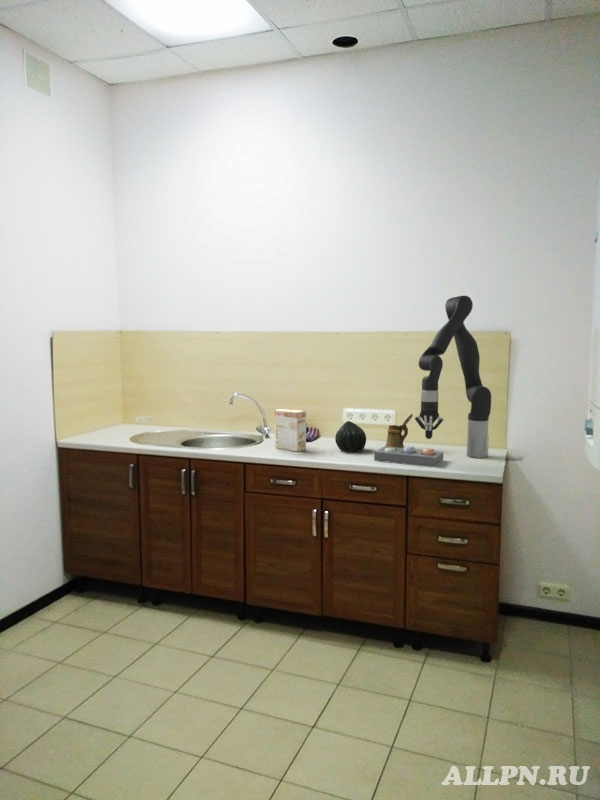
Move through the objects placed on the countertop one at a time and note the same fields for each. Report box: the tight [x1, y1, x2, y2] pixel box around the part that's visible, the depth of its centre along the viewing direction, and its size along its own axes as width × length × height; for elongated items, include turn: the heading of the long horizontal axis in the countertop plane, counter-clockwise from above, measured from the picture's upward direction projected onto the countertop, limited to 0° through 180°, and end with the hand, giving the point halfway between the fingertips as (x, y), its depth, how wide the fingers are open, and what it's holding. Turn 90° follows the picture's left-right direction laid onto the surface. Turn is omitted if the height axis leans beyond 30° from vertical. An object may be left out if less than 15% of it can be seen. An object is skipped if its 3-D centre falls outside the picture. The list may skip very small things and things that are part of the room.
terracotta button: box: [422, 447, 435, 456], centre depth 275 cm, size 5×5×3 cm
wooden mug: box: [385, 413, 413, 448], centre depth 304 cm, size 9×14×18 cm, turn 62°
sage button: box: [385, 448, 395, 452], centre depth 283 cm, size 5×5×3 cm
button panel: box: [373, 445, 444, 467], centre depth 279 cm, size 28×14×4 cm, turn 63°
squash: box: [335, 420, 367, 452], centre depth 301 cm, size 14×15×15 cm
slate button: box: [404, 446, 415, 454], centre depth 279 cm, size 5×5×3 cm
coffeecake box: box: [274, 408, 307, 452], centre depth 304 cm, size 15×7×20 cm, turn 48°
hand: (428, 438), depth 274 cm, fingers closed
